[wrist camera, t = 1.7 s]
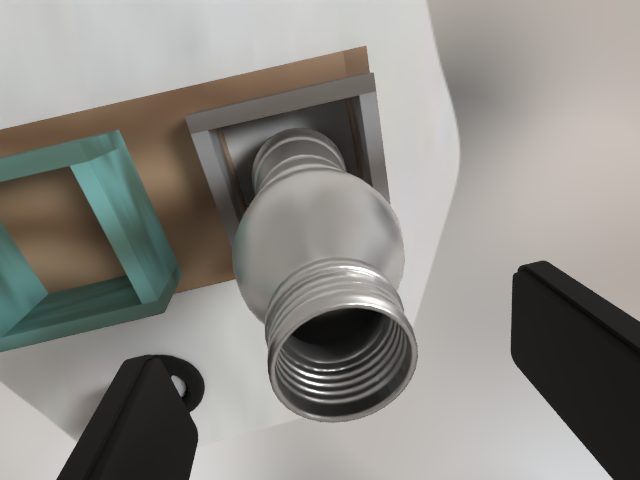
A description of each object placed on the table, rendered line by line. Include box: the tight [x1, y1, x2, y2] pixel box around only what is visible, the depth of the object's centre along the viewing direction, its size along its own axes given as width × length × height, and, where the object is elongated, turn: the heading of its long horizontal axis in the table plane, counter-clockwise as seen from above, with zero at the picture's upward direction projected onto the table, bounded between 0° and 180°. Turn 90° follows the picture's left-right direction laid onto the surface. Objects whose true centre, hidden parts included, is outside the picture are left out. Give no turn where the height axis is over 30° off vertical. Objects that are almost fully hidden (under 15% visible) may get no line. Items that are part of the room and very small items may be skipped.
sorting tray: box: [0, 46, 390, 352], centre depth 23 cm, size 14×28×6 cm, turn 102°
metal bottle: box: [232, 128, 418, 422], centre depth 17 cm, size 6×7×20 cm
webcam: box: [153, 355, 205, 414], centre depth 29 cm, size 8×8×10 cm
